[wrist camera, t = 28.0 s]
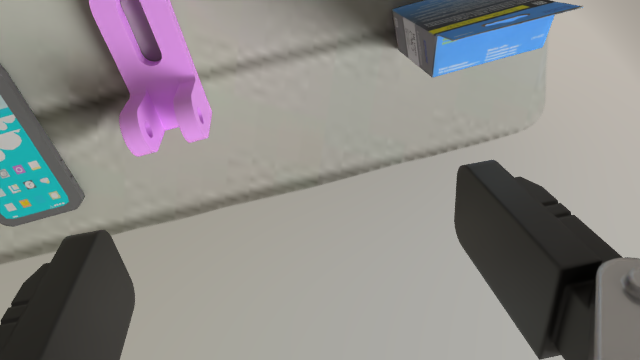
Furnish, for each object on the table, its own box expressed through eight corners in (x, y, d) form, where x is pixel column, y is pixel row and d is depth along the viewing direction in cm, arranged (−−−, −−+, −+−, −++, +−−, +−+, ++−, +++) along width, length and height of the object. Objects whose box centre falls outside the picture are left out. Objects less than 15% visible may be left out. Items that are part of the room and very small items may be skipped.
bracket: (212, 112, 40) (206, 146, 34) (152, 128, 39) (136, 164, 33) (152, -45, 33) (133, -37, 27) (80, -26, 33) (44, -14, 27)
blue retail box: (395, 52, 39) (452, 99, 29) (390, 7, 37) (449, 40, 27) (489, 27, 40) (580, 64, 29) (489, -19, 37) (586, 4, 27)
